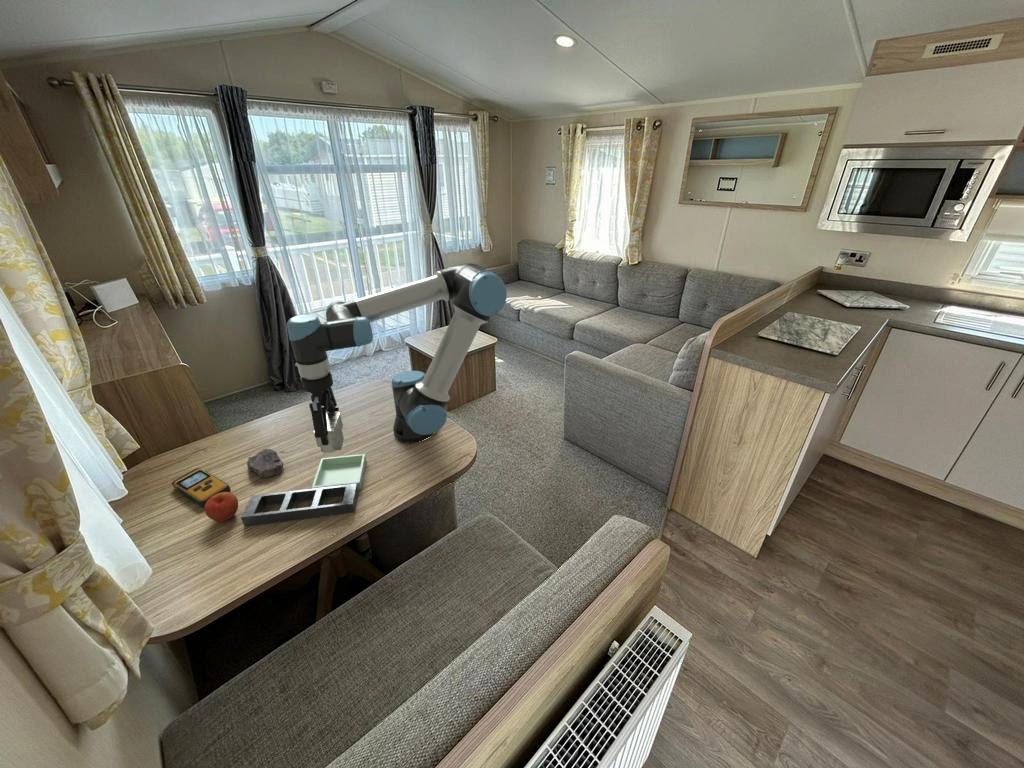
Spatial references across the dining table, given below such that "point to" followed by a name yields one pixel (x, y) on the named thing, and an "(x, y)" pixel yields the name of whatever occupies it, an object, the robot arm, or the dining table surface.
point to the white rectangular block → (334, 430)
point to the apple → (221, 506)
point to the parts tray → (340, 471)
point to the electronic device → (200, 486)
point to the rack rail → (287, 513)
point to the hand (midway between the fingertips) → (332, 441)
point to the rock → (265, 463)
